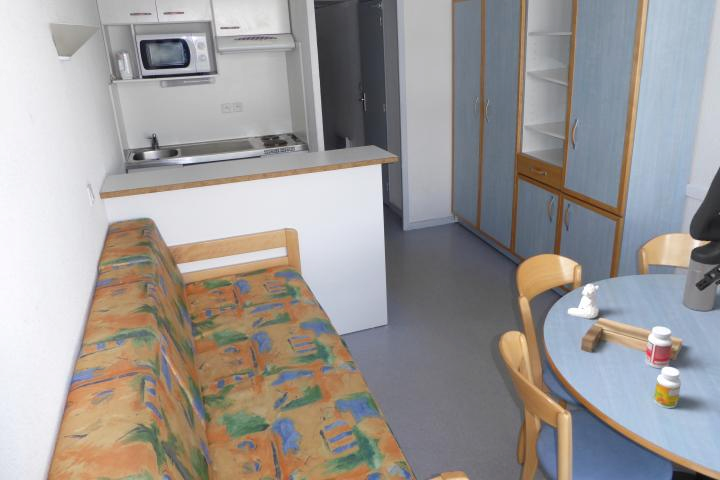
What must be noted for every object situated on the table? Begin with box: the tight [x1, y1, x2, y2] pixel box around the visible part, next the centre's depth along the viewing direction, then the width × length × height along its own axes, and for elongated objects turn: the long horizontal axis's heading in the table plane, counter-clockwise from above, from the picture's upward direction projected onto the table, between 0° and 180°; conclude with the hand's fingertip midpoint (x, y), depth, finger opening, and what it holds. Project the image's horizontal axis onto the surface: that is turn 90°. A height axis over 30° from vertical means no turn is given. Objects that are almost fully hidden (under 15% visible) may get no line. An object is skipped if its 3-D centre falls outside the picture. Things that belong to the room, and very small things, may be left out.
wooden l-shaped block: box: [580, 317, 683, 361], centre depth 167 cm, size 18×24×4 cm
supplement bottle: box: [653, 366, 682, 409], centre depth 143 cm, size 5×5×10 cm
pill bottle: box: [644, 325, 672, 370], centre depth 158 cm, size 6×6×11 cm
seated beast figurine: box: [567, 283, 600, 320], centre depth 186 cm, size 10×9×12 cm
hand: (706, 284), depth 145 cm, fingers open, 8 cm apart
